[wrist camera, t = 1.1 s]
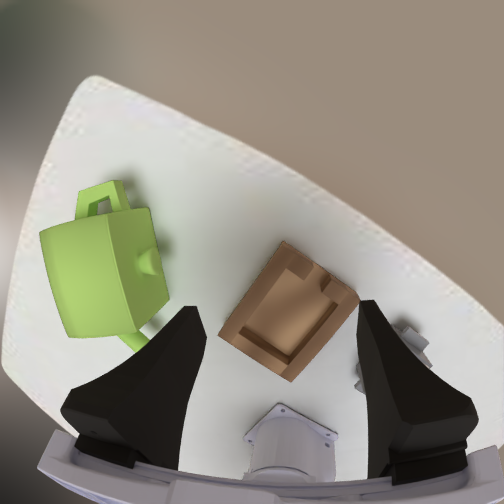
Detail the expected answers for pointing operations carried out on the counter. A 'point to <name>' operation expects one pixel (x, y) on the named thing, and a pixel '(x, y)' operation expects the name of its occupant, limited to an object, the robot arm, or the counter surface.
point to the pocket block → (289, 313)
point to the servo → (412, 342)
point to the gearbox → (105, 268)
